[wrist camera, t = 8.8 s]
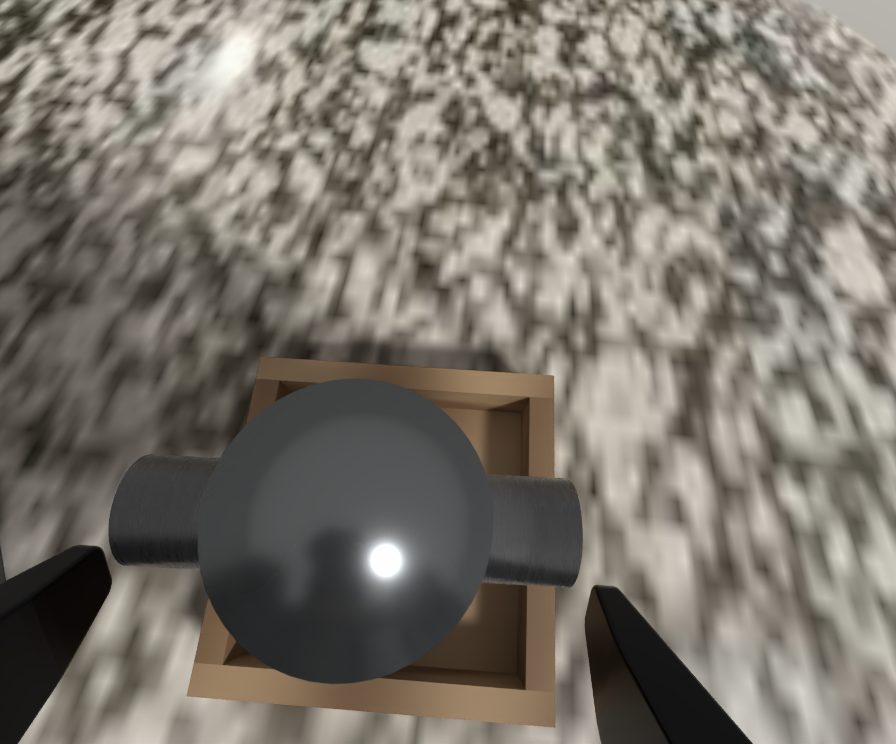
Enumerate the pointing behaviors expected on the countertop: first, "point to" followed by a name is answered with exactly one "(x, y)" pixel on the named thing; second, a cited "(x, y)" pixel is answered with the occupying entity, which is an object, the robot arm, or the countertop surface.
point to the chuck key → (346, 529)
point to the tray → (494, 606)
